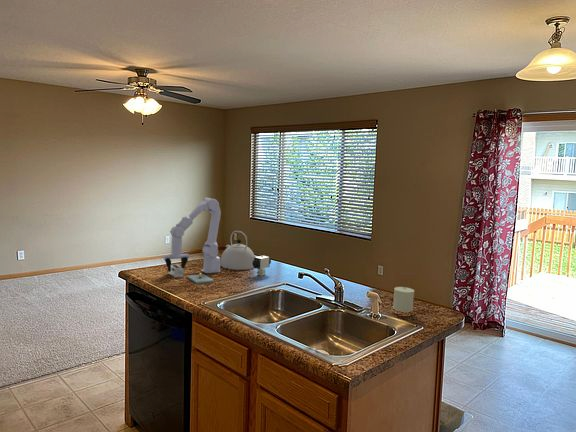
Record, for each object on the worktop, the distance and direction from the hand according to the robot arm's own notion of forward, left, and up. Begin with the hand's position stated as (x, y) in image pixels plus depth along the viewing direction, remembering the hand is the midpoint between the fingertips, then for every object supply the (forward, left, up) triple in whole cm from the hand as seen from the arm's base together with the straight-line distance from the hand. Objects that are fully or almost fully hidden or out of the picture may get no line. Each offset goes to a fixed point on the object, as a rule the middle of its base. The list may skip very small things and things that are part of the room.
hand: (175, 270), depth 246 cm
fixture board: (-9, +14, -2) cm, 17 cm away
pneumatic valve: (-46, +17, -3) cm, 49 cm away
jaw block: (0, 0, -2) cm, 2 cm away
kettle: (-44, -11, -3) cm, 46 cm away
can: (-73, +103, -3) cm, 126 cm away
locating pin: (-9, +14, -2) cm, 17 cm away
